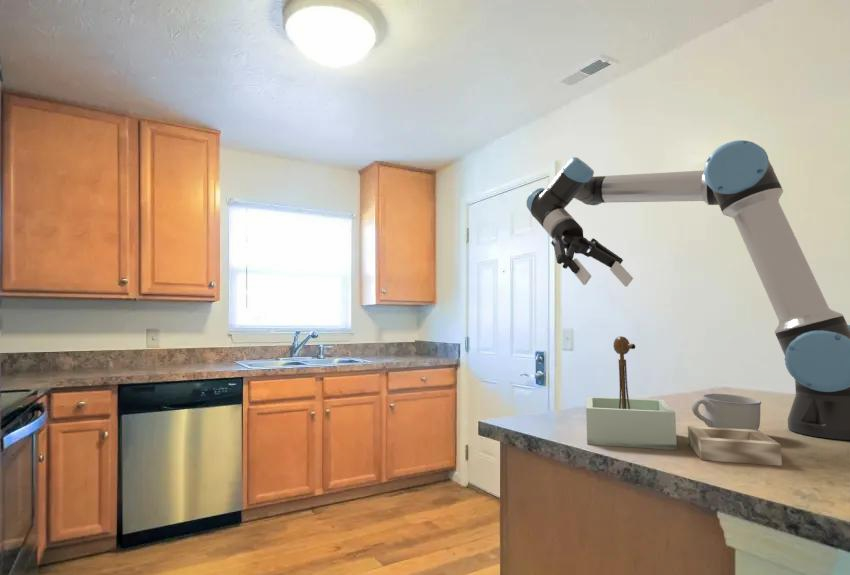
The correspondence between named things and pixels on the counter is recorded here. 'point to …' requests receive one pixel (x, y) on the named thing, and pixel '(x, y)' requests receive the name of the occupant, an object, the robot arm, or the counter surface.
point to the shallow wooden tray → (734, 445)
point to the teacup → (729, 411)
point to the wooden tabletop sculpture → (622, 348)
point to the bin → (631, 423)
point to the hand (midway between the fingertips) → (609, 281)
